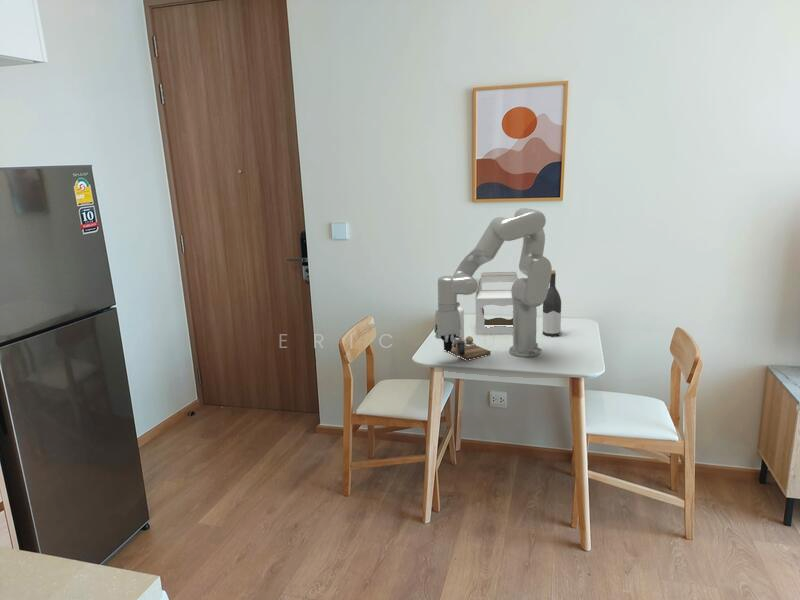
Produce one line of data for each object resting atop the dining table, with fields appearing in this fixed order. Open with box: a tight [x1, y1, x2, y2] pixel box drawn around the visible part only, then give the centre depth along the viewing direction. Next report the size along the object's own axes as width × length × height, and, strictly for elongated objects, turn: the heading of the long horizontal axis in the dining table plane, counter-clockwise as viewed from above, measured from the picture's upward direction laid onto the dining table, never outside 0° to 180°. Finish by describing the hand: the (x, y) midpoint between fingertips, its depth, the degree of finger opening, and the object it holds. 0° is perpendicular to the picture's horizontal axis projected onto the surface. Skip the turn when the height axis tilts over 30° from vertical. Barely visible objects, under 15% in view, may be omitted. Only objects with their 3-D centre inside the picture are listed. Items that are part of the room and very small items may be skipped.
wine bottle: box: [542, 269, 562, 338], centre depth 256 cm, size 8×8×30 cm
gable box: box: [474, 271, 519, 335], centre depth 266 cm, size 22×13×28 cm, turn 83°
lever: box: [452, 337, 466, 355], centre depth 238 cm, size 15×4×5 cm, turn 1°
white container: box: [447, 301, 465, 342], centre depth 254 cm, size 8×8×18 cm
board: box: [443, 335, 491, 361], centre depth 240 cm, size 16×12×6 cm
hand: (448, 350), depth 231 cm, fingers closed
